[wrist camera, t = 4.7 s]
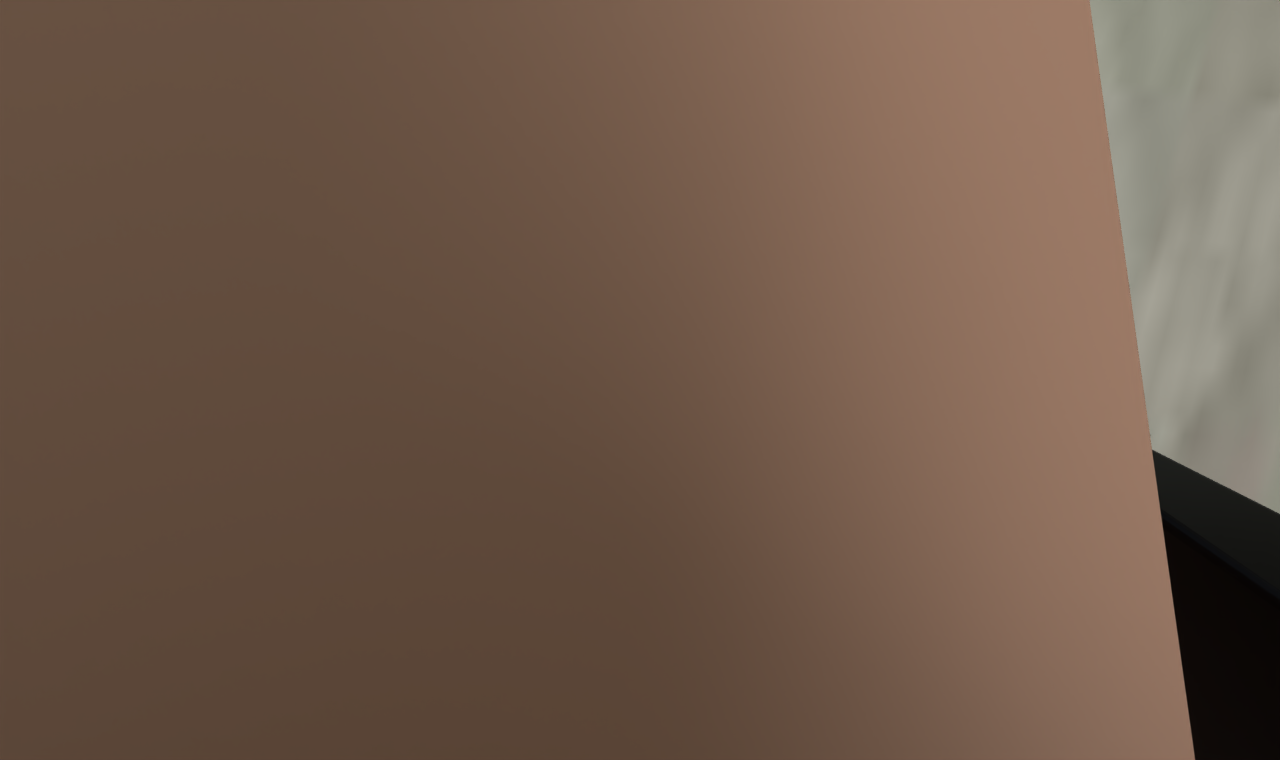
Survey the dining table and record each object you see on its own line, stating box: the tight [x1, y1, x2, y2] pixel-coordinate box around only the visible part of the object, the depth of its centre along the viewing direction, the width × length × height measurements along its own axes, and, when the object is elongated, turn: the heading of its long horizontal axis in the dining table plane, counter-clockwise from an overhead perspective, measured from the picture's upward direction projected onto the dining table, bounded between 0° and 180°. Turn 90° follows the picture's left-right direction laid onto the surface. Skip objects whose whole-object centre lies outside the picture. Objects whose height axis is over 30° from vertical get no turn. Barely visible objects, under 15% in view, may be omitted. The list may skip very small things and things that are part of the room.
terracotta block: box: [0, 0, 1195, 760], centre depth 9 cm, size 5×5×12 cm
